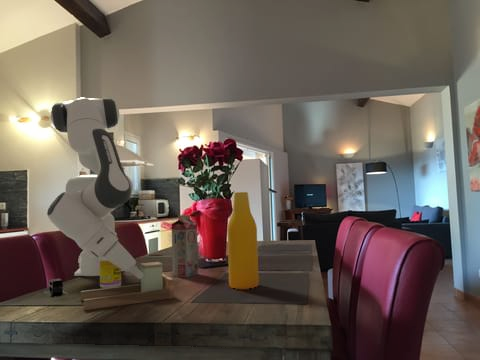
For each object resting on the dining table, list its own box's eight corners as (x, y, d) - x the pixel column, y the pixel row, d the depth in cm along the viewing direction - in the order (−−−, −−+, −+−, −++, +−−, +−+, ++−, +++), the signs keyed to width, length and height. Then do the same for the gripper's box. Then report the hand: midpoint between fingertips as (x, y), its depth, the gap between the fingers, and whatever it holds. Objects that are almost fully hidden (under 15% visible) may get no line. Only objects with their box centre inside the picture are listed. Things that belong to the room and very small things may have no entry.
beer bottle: (264, 286, 117) (261, 191, 119) (239, 291, 112) (235, 192, 114) (248, 282, 125) (245, 192, 127) (223, 286, 120) (220, 193, 122)
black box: (38, 293, 120) (38, 279, 120) (63, 290, 125) (63, 275, 125) (48, 300, 110) (48, 284, 111) (74, 296, 115) (74, 280, 115)
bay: (80, 300, 107) (80, 282, 108) (162, 289, 118) (162, 273, 118) (84, 310, 96) (83, 290, 96) (174, 297, 106) (173, 279, 107)
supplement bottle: (114, 288, 121) (114, 247, 122) (95, 288, 122) (95, 248, 123) (125, 284, 128) (124, 245, 128) (107, 284, 129) (106, 245, 130)
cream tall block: (140, 295, 111) (140, 263, 112) (158, 292, 113) (158, 261, 114) (144, 299, 106) (144, 265, 107) (163, 296, 109) (162, 264, 109)
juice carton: (198, 274, 142) (196, 214, 144) (186, 277, 137) (185, 215, 138) (184, 272, 146) (182, 214, 147) (172, 276, 140) (171, 215, 142)
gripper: (88, 247, 112) (123, 277, 116) (96, 254, 94) (137, 289, 98) (104, 231, 115) (137, 261, 118) (114, 234, 96) (154, 270, 100)
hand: (137, 274), depth 108 cm, fingers open, 8 cm apart
